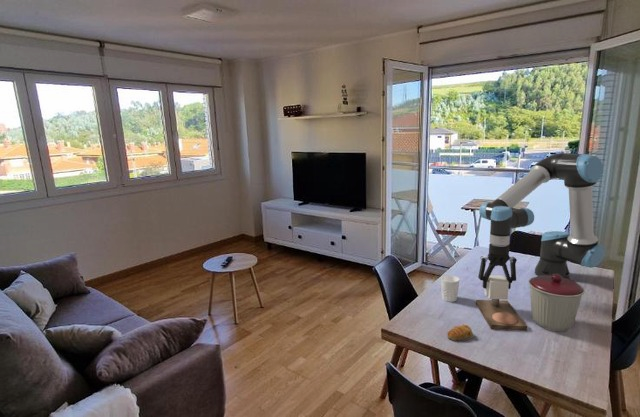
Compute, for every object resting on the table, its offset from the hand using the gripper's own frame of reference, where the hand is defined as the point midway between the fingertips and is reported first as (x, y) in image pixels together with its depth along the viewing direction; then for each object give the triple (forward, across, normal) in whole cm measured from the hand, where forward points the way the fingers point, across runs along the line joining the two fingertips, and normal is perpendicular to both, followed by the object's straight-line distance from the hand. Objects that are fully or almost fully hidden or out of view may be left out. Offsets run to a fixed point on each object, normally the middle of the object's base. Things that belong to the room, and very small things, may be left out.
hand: (495, 295), depth 153 cm
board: (+7, 0, -6) cm, 9 cm away
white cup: (+7, -17, +9) cm, 20 cm away
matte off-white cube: (0, 0, 0) cm, 0 cm away
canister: (+7, +18, -11) cm, 22 cm away
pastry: (+7, -19, -22) cm, 30 cm away
